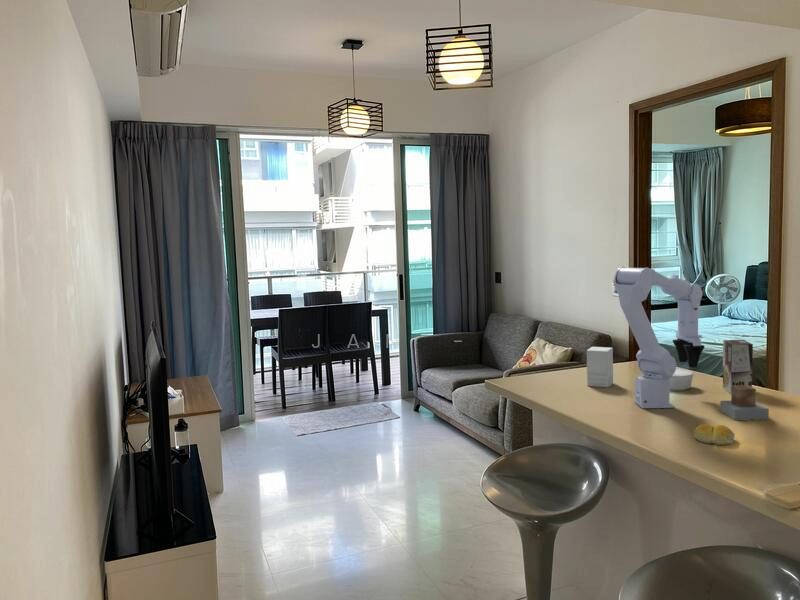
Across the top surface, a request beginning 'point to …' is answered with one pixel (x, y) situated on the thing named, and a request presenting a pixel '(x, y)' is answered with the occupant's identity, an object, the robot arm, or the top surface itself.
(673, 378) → the ramekin
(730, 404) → the block
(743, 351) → the coffee box
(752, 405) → the walnut block
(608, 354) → the supplement box
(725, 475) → the top surface
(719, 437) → the bread roll
